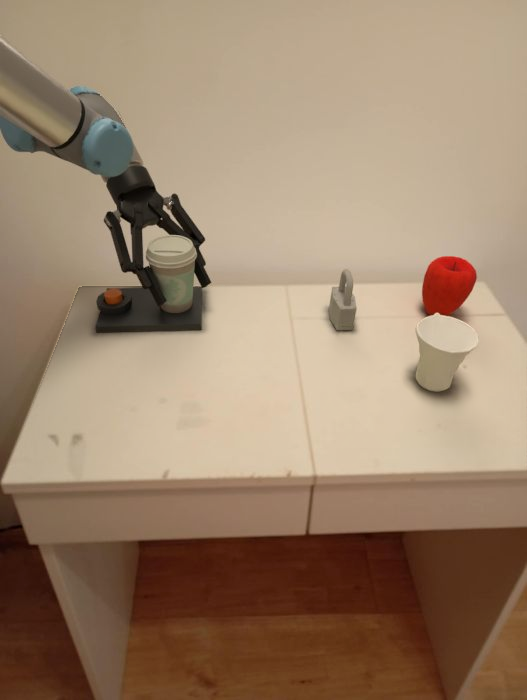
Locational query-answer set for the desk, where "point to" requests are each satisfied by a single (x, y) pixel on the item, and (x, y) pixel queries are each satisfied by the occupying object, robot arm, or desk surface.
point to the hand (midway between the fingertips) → (185, 294)
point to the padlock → (343, 303)
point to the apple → (447, 284)
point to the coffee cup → (173, 270)
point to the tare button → (113, 296)
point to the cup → (442, 349)
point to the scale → (146, 313)
